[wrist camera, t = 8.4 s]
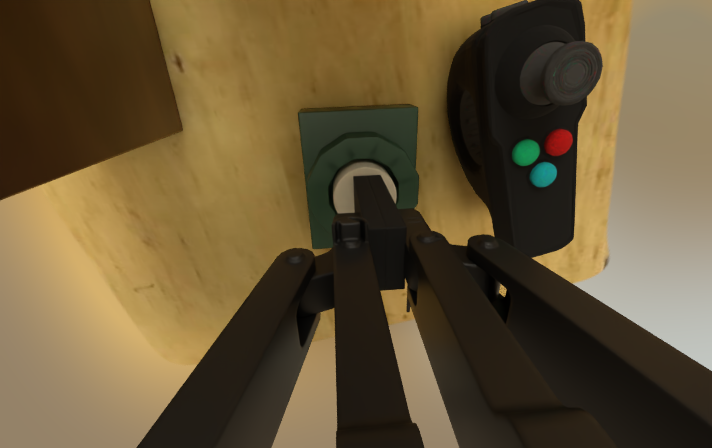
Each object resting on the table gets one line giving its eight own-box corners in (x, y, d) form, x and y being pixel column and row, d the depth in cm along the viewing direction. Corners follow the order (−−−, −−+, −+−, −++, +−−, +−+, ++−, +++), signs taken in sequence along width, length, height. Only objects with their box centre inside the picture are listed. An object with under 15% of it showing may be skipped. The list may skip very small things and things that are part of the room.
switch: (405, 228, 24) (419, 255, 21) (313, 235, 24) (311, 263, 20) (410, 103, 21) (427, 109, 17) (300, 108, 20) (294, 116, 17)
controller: (493, 13, 19) (645, -44, 10) (510, 199, 24) (619, 274, 15) (422, 37, 19) (507, 3, 10) (454, 216, 24) (529, 300, 15)
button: (390, 211, 21) (396, 225, 19) (334, 215, 20) (335, 229, 19) (390, 156, 19) (397, 165, 17) (330, 159, 19) (331, 169, 17)
